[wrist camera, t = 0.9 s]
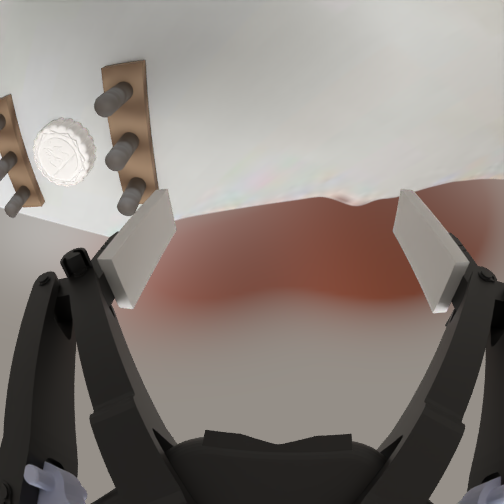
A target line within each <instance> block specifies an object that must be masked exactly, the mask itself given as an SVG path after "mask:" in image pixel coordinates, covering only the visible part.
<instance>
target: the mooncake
mask: <svg viewBox="0 0 504 504" xmlns="http://www.w3.org/2000/svg"><path fill="white" fill-rule="evenodd" d="M93 142H94V140H93V138H92V137H91V136H90V135H89V132H88V130H87V129H86V128H83V127H82V125H81V123H79V122H74V120H72V119H67V120H66V119H64V118H60V119H58V120H53V121H52V122H51V123H49V124H48V125H47V126H46V127H44V128H43V129H42V130H41V131H40V132H39V133H38V135H37V138H36V139H35V140H34V145H35V146H34V147H33V153H34V154H35V155H34V160H35V162H36V163H37V168H38V169H39V170H41V173H42V175H43V176H44V177H47V178H48V180H49V181H50V182H55V184H57V185H63V186H65V187H68V186H69V185H72V186H74V185H76V184H77V183H78V182H82V181H83V179H84V178H85V176H87V174H88V173H89V171H90V170H91V169H92V167H93V162H94V161H95V159H96V155H95V154H94V153H95V151H96V147H95V145H94V144H93Z"/></svg>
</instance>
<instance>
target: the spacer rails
mask: <svg viewBox="0 0 504 504" xmlns="http://www.w3.org/2000/svg"><path fill="white" fill-rule="evenodd" d="M101 71H102V80H103V89H104V93H103V94H102V95H101V96H99V97H98V98H97V99H96V101H95V104H94V108H95V111H96V113H97V114H98V115H100V116H102V117H108V123H109V128H110V134H111V139H112V145H113V148H112V149H111V150H110V152H109V153H108V154H107V156H106V158H105V163H106V165H107V167H108V168H109V169H111V170H113V171H118V173H119V178H120V182H121V186H122V190H123V195H122V197H121V198H120V200H119V202H118V204H117V208H118V211H119V212H120V213H121V214H123V215H125V216H131V215H133V214H134V213H135V212H136V209H137V207H138V205H139V204H143V203H144V202H145V201H146V200H147V199H148V198H149V197H150V196H151V195H152V194H153V192H154V191H155V190H159V188H158V182H157V175H156V168H155V161H154V153H153V146H152V137H151V128H150V118H149V108H148V96H147V82H146V65H145V60H143V61H135V62H128V63H122V64H116V65H110V66H105V67H103V68H101ZM0 153H1V156H2V159H1V160H0V181H1V180H2V179H3V177H4V176H5V175H6V174H7V173H8V175H9V177H10V179H11V182H12V184H13V187H14V189H15V191H16V193H15V194H14V196H13V197H12V198H11V199H10V201H9V202H8V203H7V205H6V206H5V212H6V214H7V215H9V217H12V218H14V217H15V216H16V215H17V213H18V212H19V210H20V209H21V208H22V207H38V206H42V205H43V204H44V202H45V201H44V198H43V196H42V193H41V191H40V188H39V186H38V183H37V181H36V178H35V175H34V173H33V170H32V167H31V164H30V161H29V158H28V156H27V152H26V149H25V146H24V143H23V140H22V136H21V133H20V129H19V126H18V122H17V118H16V114H15V110H14V106H13V101H12V97H11V94H10V95H8V96H5V97H3V98H0Z"/></svg>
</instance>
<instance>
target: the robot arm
mask: <svg viewBox="0 0 504 504" xmlns="http://www.w3.org/2000/svg"><path fill="white" fill-rule="evenodd" d="M175 232H176V226H175V221H174V216H173V212H172V207H171V202H170V198H169V193H168V189H161V190H155V191H154V192H153V194H152V195H151V196H150V197H149V198H148V199H147V200H146V201H145V202H144V203H143V205H142V206H141V207H140V208H139V209H138V210H137V211H136V212H135V214H134V215H133V216H132V217H131V218H130V219H129V220H128V222H127V223H126V224H125V225H124V226H123V228H122V229H121V230H120V231H119V232H116V233H115V234H114V235H112V236H111V237H110V238H109V239H108V240H107V242H105V245H103V246H102V247H101V250H99V251H98V252H97V254H96V255H95V256H94V257H93V259H92V260H90V258H89V256H88V253H87V251H86V250H85V249H84V248H76V249H73V250H71V251H69V252H68V253H66V254H65V255H64V256H63V258H62V259H61V261H60V263H61V266H62V267H63V269H64V271H65V274H66V276H67V278H63V279H59V280H58V278H57V276H56V274H55V273H54V272H46V273H43V274H42V275H40V276H39V277H38V278H37V280H36V281H35V283H34V285H33V288H32V291H31V294H30V297H29V300H28V303H27V306H26V309H25V313H24V316H23V319H22V323H21V327H20V330H19V334H18V339H17V343H16V347H15V351H14V356H13V361H12V366H11V371H10V378H9V383H8V390H7V398H6V408H5V418H4V434H3V439H2V443H1V447H0V504H85V500H86V499H87V492H86V490H85V489H84V488H83V487H82V486H81V483H80V482H79V480H78V479H77V475H78V474H77V473H78V459H77V445H76V433H75V411H74V375H75V374H74V373H75V354H76V341H77V347H78V351H79V356H80V361H81V365H82V369H83V373H84V377H85V381H86V385H87V389H88V392H89V396H90V399H91V402H92V406H93V410H94V413H93V414H91V415H90V423H91V427H92V430H93V433H94V436H95V439H96V441H97V444H98V447H99V449H100V452H101V455H102V457H103V459H104V462H105V464H106V467H107V469H108V472H109V474H110V476H111V478H112V481H113V483H114V485H115V487H116V488H115V489H113V490H112V491H110V492H109V493H107V494H106V495H104V496H103V497H101V498H99V499H98V500H96V501H95V502H93V503H91V504H433V503H432V502H431V501H430V500H429V497H430V496H431V494H432V493H433V491H434V489H435V488H436V486H437V484H438V483H439V481H440V479H441V478H442V476H443V474H444V472H445V470H446V469H447V467H448V465H449V463H450V461H451V459H452V457H453V455H454V453H455V451H456V449H457V447H458V445H459V442H460V440H461V438H462V436H463V433H464V430H465V425H464V424H463V423H462V418H463V415H464V413H465V411H466V408H467V405H468V403H469V400H470V397H471V395H472V392H473V389H474V386H475V383H476V380H477V377H478V373H479V370H480V367H481V363H482V359H483V356H484V352H485V348H486V367H485V385H484V398H483V406H482V414H481V421H480V428H479V434H478V439H477V444H476V449H475V454H474V458H473V462H472V467H471V472H470V476H469V483H468V489H467V493H466V494H465V496H464V497H463V498H462V500H461V501H459V502H458V503H457V504H504V283H502V282H498V281H497V279H496V277H495V275H494V274H493V273H492V272H491V271H490V270H488V269H487V268H484V267H480V266H477V264H476V263H475V261H474V260H473V259H472V257H471V256H470V254H469V253H468V252H467V251H466V249H465V248H464V246H463V245H462V244H461V242H460V241H459V240H458V238H456V237H455V236H454V235H453V234H451V233H448V232H447V231H446V229H445V228H444V227H443V226H442V224H441V223H440V222H439V221H438V219H437V218H436V217H435V216H434V214H433V213H432V212H431V211H430V210H429V208H428V207H427V206H426V205H425V204H424V203H423V201H422V200H421V199H420V198H419V197H418V196H417V195H416V193H415V192H414V191H413V190H405V189H401V192H400V197H399V203H398V209H397V214H396V219H395V224H394V228H393V233H394V234H395V236H396V238H397V240H398V241H399V243H400V245H401V247H402V249H403V251H404V253H405V255H406V257H407V259H408V261H409V263H410V264H411V267H412V269H413V270H414V273H415V275H416V277H417V279H418V281H419V283H420V285H421V287H422V290H423V292H424V294H425V296H426V298H427V301H428V303H429V305H430V308H431V310H432V312H433V313H439V312H446V311H447V310H448V307H449V306H450V304H451V302H452V304H453V306H454V308H455V309H454V310H453V312H452V314H451V316H450V318H449V320H448V321H447V323H446V325H445V326H446V330H445V332H444V334H443V337H442V339H441V342H440V344H439V346H438V348H437V351H436V353H435V355H434V357H433V360H432V361H431V364H430V366H429V368H428V370H427V372H426V374H425V376H424V378H423V380H422V381H421V383H420V385H419V387H418V389H417V391H416V393H415V395H414V396H413V398H412V400H411V402H410V403H409V405H408V407H407V408H406V410H405V412H404V413H403V415H402V416H401V418H400V420H399V421H398V423H397V424H396V426H395V428H394V429H393V430H392V432H391V433H390V435H389V436H388V437H387V438H386V440H385V441H384V442H383V443H382V444H381V445H380V447H379V448H378V449H377V450H375V449H374V448H372V447H370V446H367V445H364V444H362V443H358V442H353V441H352V436H351V434H343V435H327V436H314V437H310V438H306V439H302V440H298V441H294V442H289V443H285V444H272V443H269V442H265V441H262V440H258V439H255V438H252V437H249V436H246V435H242V434H236V433H226V432H218V431H210V430H205V434H204V437H200V438H195V439H191V440H188V441H184V442H182V443H179V444H177V443H176V442H175V440H174V439H173V437H172V436H171V434H170V433H169V432H168V430H167V429H166V427H165V425H164V423H163V422H162V420H161V418H160V416H159V414H158V412H157V410H156V408H155V407H154V405H153V402H152V400H151V398H150V396H149V394H148V392H147V390H146V388H145V386H144V384H143V381H142V379H141V377H140V375H139V373H138V371H137V368H136V366H135V363H134V361H133V359H132V356H131V354H130V352H129V349H128V347H127V344H126V341H125V339H124V336H123V334H122V331H121V328H120V325H119V323H118V320H117V317H116V314H115V311H114V309H113V307H112V305H111V304H112V302H113V300H114V299H115V300H116V301H117V304H118V306H119V307H120V308H128V309H133V308H134V306H135V304H136V303H137V301H138V299H139V297H140V295H141V293H142V291H143V289H144V287H145V285H146V283H147V282H148V280H149V278H150V276H151V274H152V272H153V270H154V269H155V267H156V265H157V263H158V261H159V259H160V258H161V256H162V254H163V253H164V251H165V249H166V247H167V246H168V244H169V242H170V240H171V239H172V237H173V235H174V234H175Z"/></svg>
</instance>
